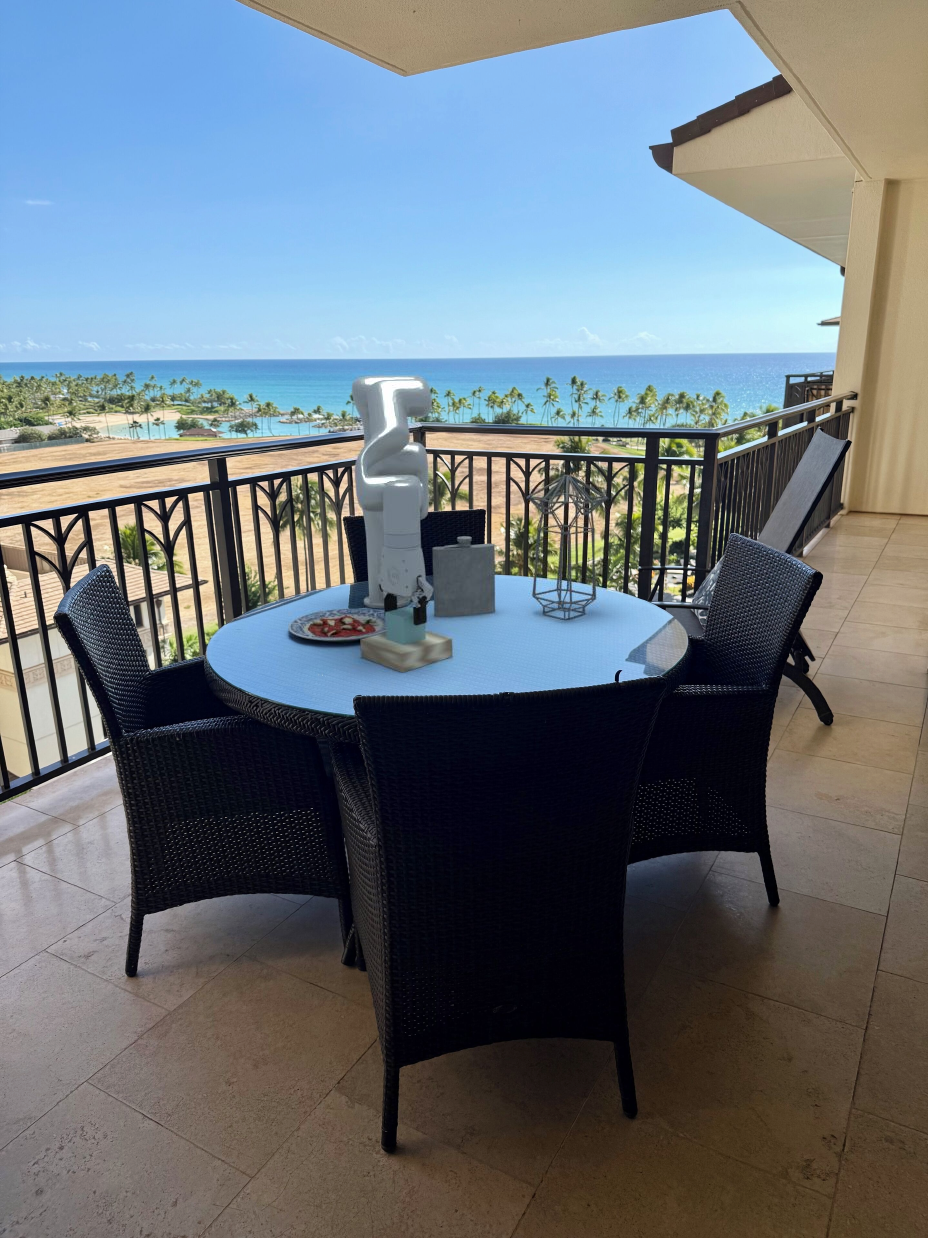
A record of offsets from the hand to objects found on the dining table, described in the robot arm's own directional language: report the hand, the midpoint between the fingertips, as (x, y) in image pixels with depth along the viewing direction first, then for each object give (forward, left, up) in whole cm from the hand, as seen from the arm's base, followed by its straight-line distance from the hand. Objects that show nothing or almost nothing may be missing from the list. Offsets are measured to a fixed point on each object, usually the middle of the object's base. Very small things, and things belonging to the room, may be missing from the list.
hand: (405, 619), depth 173 cm
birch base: (0, 0, -8) cm, 8 cm away
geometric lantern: (-50, +3, -9) cm, 51 cm away
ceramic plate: (-2, -26, -9) cm, 27 cm away
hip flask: (-32, -15, -9) cm, 36 cm away
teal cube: (0, 0, -4) cm, 4 cm away
